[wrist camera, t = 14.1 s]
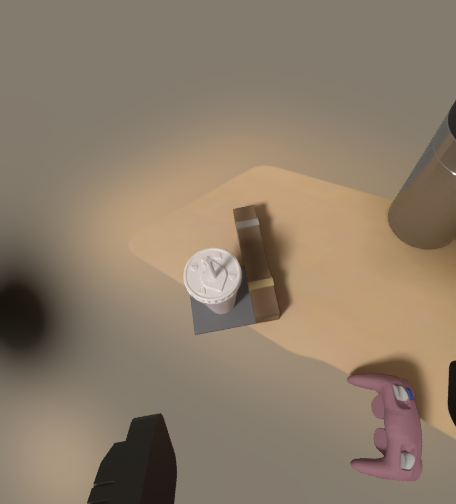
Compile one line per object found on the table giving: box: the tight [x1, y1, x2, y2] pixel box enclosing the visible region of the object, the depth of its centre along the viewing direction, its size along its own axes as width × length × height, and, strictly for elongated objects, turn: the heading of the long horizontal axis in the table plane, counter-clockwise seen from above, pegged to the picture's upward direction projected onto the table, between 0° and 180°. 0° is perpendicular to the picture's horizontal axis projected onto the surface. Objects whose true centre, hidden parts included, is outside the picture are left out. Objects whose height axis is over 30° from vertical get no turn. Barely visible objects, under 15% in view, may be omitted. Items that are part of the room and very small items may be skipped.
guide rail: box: [233, 205, 280, 323], centre depth 45 cm, size 3×16×3 cm, turn 9°
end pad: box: [190, 267, 256, 335], centre depth 45 cm, size 8×8×1 cm
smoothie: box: [183, 247, 242, 314], centre depth 38 cm, size 6×6×14 cm
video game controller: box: [347, 374, 422, 481], centre depth 35 cm, size 10×5×7 cm, turn 173°
